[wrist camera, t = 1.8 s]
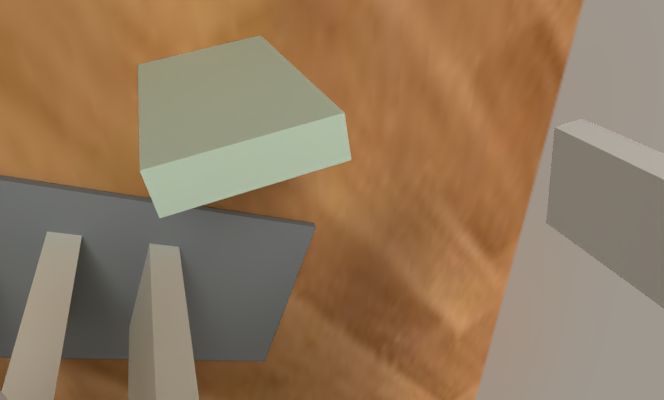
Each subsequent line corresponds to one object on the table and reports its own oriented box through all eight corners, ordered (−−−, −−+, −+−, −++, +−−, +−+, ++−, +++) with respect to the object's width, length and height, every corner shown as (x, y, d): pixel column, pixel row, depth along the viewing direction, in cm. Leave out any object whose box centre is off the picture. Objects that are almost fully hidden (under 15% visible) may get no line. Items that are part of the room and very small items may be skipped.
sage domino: (138, 64, 23) (139, 170, 13) (260, 35, 24) (344, 112, 15) (150, 96, 24) (159, 218, 14) (267, 66, 25) (351, 160, 15)
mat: (-286, 345, 23) (-294, 352, 23) (-319, 126, 19) (-329, 131, 19) (263, 356, 35) (264, 361, 34) (313, 223, 31) (315, 227, 30)
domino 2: (129, 327, 29) (125, 533, 20) (149, 243, 27) (157, 426, 17) (157, 329, 30) (167, 527, 20) (179, 246, 28) (202, 424, 18)
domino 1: (33, 323, 27) (-26, 553, 17) (47, 231, 25) (-11, 433, 15) (65, 325, 28) (27, 546, 18) (81, 235, 26) (48, 431, 16)
